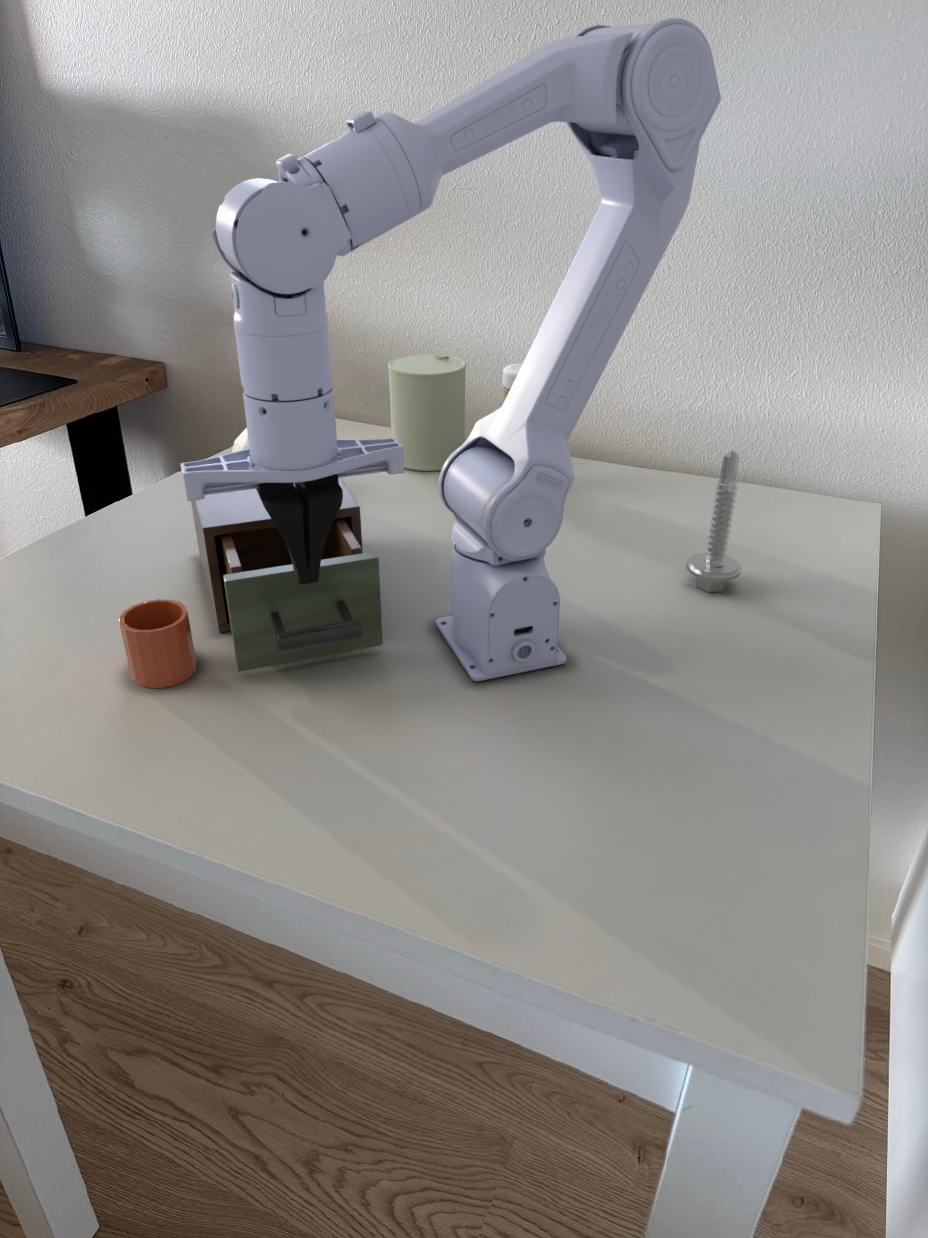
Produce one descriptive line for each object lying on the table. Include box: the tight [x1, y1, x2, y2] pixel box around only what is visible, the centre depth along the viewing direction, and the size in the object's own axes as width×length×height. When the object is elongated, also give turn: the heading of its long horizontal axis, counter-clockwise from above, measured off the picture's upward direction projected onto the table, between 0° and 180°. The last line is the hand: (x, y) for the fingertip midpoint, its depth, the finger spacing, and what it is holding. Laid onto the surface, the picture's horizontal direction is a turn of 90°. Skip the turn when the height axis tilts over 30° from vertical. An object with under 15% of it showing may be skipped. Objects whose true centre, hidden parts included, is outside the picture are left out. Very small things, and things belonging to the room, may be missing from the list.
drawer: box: [217, 518, 384, 672], centre depth 72 cm, size 18×11×8 cm, turn 20°
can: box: [387, 353, 467, 472], centre depth 108 cm, size 9×9×12 cm
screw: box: [685, 450, 742, 593], centre depth 79 cm, size 13×5×5 cm
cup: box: [118, 598, 198, 689], centre depth 69 cm, size 5×5×5 cm
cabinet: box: [190, 477, 364, 634], centre depth 81 cm, size 15×13×10 cm
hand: (306, 577), depth 65 cm, fingers closed
